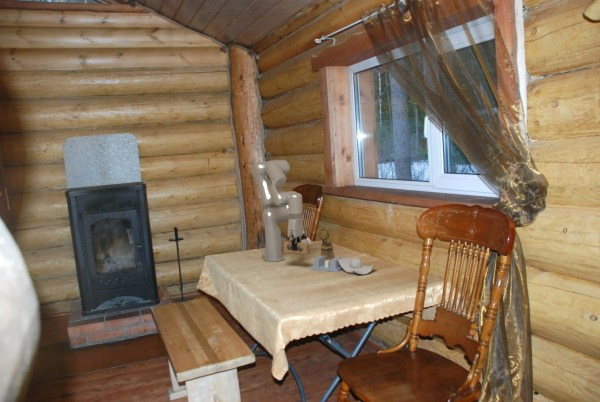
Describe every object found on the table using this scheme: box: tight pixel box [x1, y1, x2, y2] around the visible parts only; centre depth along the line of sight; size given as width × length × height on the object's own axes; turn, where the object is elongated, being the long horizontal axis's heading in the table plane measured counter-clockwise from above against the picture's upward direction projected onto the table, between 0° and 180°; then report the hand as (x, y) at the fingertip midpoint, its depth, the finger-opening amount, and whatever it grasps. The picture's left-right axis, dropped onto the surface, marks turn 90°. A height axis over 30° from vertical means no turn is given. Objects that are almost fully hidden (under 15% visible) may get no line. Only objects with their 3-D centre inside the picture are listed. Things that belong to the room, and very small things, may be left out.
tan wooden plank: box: [283, 240, 310, 255], centre depth 258 cm, size 14×4×5 cm, turn 62°
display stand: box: [310, 255, 344, 273], centre depth 259 cm, size 16×10×6 cm, turn 62°
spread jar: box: [293, 230, 312, 247], centre depth 316 cm, size 12×11×12 cm
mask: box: [338, 257, 376, 275], centre depth 252 cm, size 20×8×15 cm
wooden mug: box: [318, 228, 335, 261], centre depth 276 cm, size 9×14×18 cm, turn 11°
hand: (296, 249), depth 259 cm, fingers closed on tan wooden plank, 3 cm apart
